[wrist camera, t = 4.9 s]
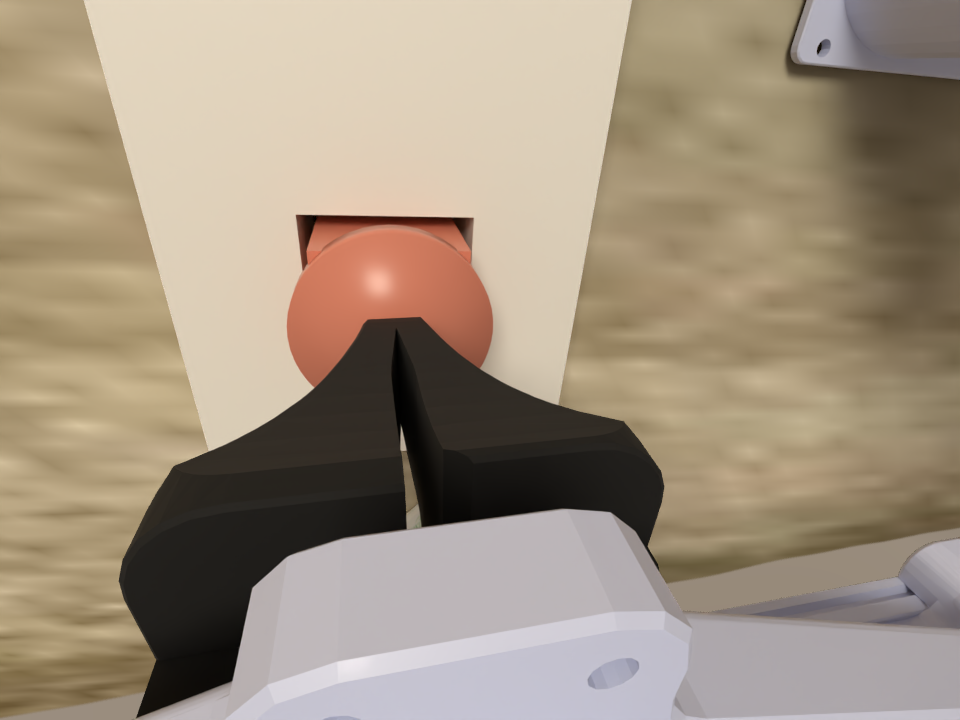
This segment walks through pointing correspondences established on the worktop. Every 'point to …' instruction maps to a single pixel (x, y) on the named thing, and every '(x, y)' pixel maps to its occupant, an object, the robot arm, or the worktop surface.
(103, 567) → the worktop surface
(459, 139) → the control box
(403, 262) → the red button
